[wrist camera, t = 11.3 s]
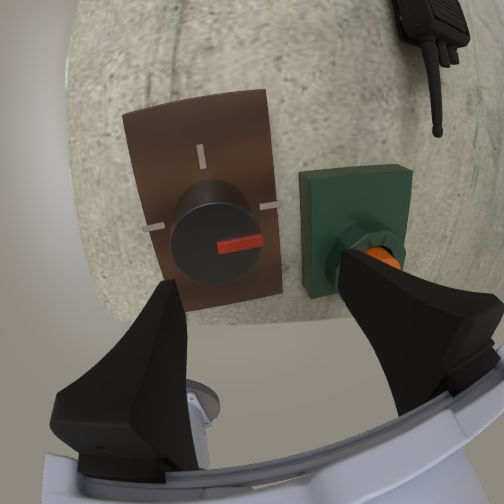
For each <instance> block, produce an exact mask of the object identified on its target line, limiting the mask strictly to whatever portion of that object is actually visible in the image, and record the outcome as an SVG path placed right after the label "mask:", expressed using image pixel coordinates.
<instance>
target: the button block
mask: <svg viewBox="0 0 504 504" xmlns="http://www.w3.org/2000/svg"><path fill="white" fill-rule="evenodd" d="M412 176H413V171H412V170H410V169H407V168H405V167H403V166H400V165H398V164H387V165H371V166H357V167H344V168H333V169H323V170H314V171H305V172H299V185H300V207H301V236H302V285H303V286H304V288H305V290H306V292H307V294H308V295H309V297H310V299H314V298H318V297H322V296H326V295H330V294H334V293H338V294H339V296H340V297H341V299H342V300H343V298H342V296H341V294H340V292H339V290H338V288H337V286H338V278H339V269H340V259H341V250H345V249H351V248H354V249H357V250H360V251H362V252H365V251H367V250H368V249H370V248H374V247H380V248H383V249H385V250H386V251H387V252H388V253H389V254H390V255H391V256H392V257H394V258H395V259H396V260H397V261H398V263H399V264H400V269H401V271H402V270H403V266H404V261H405V256H406V250H405V248H404V241H405V235H406V229H407V222H408V215H409V207H410V198H411V188H412ZM343 301H344V300H343Z"/></svg>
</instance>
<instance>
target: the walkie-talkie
mask: <svg viewBox="0 0 504 504" xmlns="http://www.w3.org/2000/svg"><path fill="white" fill-rule="evenodd" d="M393 6H394V11H395V16H396V20H397V25H398V29H399V34H400V38H401V40H402V41H403V42H405V43H408V44H411V45H414V46H417V47H420V48H421V51H422V55H423V58H424V62H425V67H426V71H427V77H428V84H429V91H430V101H431V112H432V123H433V127H432V132H433V135H434V136H435V137H437V138H440V137H442V135H443V128H442V96H441V82H440V71H439V64H440V66H441V67H445V68H450V64H452V65H456V64H459V57H458V53H457V52H456V51H457V48H461V47H465V46H467V45H468V43H469V41H470V33H469V30H468V27H467V23H466V20H465V17H464V14H463V11H462V8H461V6H460V3H459V2H458V0H393Z"/></svg>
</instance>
